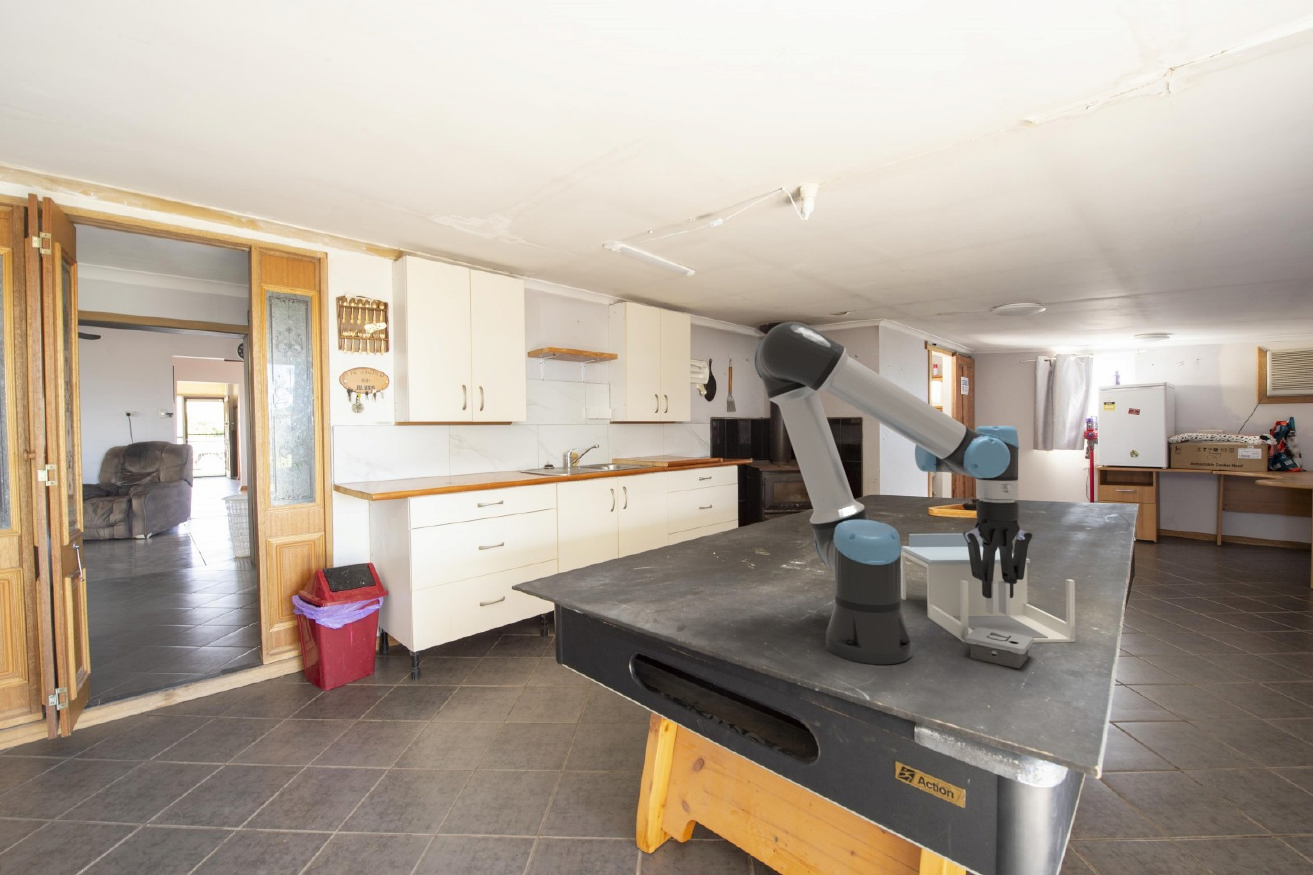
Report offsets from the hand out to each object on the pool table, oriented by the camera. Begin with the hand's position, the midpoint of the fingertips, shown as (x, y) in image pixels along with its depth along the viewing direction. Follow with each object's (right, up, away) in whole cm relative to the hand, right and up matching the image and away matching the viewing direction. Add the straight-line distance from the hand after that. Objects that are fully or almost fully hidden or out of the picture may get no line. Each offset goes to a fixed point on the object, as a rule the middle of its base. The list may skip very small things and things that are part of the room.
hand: (997, 613), depth 118 cm
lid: (0, +9, +14) cm, 17 cm away
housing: (0, -3, +8) cm, 8 cm away
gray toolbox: (-5, -4, -17) cm, 18 cm away
